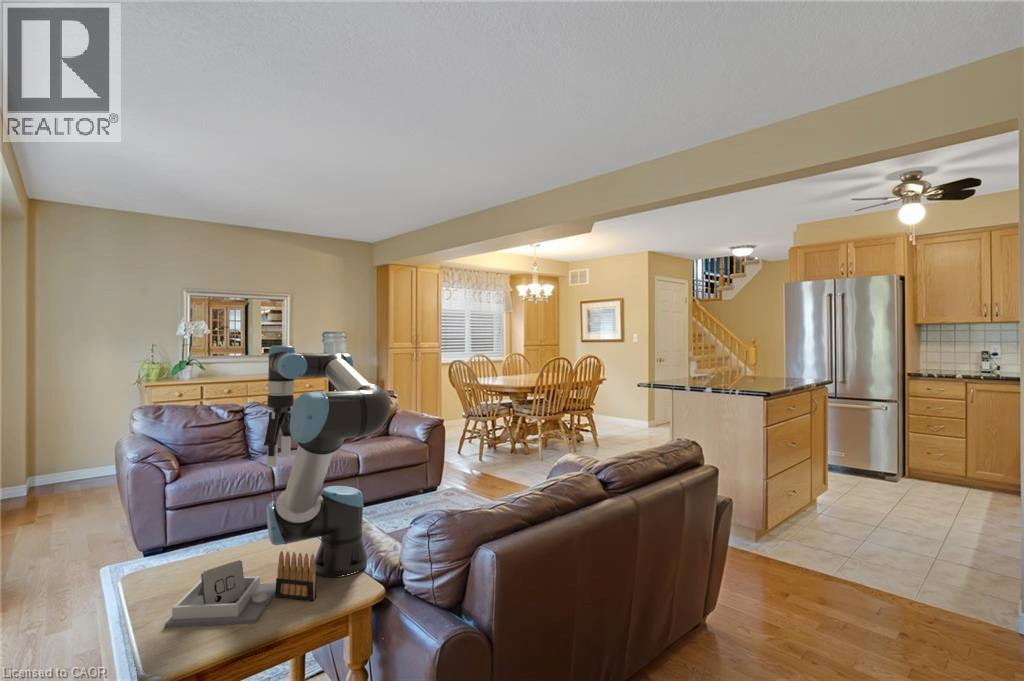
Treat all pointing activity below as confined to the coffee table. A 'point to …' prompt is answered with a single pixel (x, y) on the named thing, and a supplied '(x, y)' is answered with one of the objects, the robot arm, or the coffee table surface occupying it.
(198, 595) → the housing
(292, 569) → the ammunition clip
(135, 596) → the coffee table surface
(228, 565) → the electrical switch
